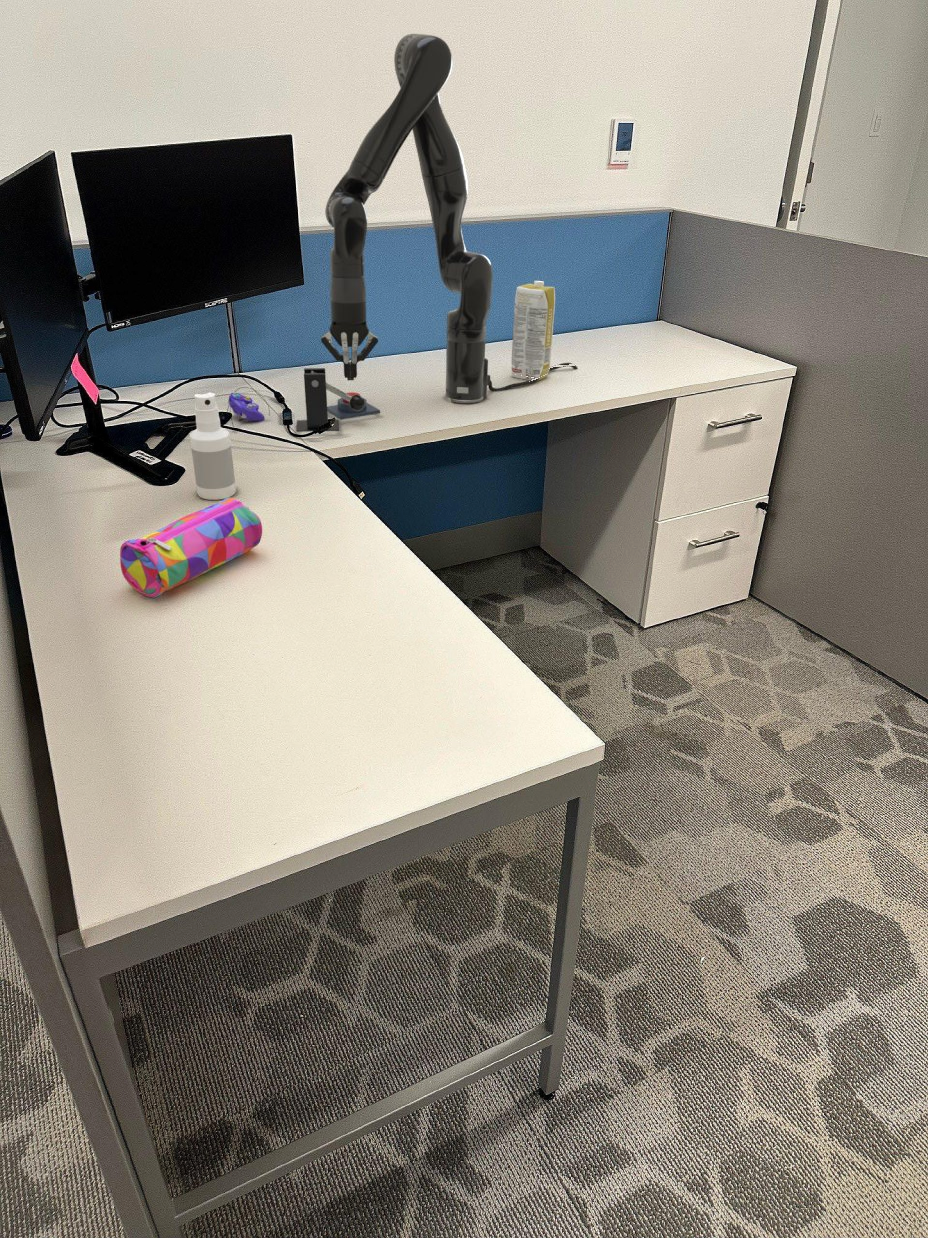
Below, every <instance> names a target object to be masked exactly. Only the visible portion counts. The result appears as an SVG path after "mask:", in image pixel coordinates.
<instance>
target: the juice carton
mask: <svg viewBox="0 0 928 1238" xmlns="http://www.w3.org/2000/svg"><path fill="white" fill-rule="evenodd" d="M544 285H545V281H541V280H533V284H532V283H526V284H522V285H519V286H516V291H515V296H514V307H513V309H514V310H513V327H512V345H511V346H512V347H511V361H510V362H511V376H512V377H513V378H516V379H520V380H525V381H529V380H532V379H535V378H538V379H539V380H538V381H537V382H539V381H542V380H544V379H546V378H548V376H549V373H550V371H549V368H550V367H551V361H552V360H551V359H552V347H553V346H552V345H553V334H554V322H555V308H556V288H555V287H554V286H544ZM548 372H549V373H548ZM547 373H548V374H547ZM515 374H516V375H515ZM545 374H547V375H545ZM521 375H522V376H521ZM543 375H545V376H543ZM526 376H528V377H526ZM541 376H542V377H541ZM531 377H534V378H531ZM539 377H540V378H539Z"/></svg>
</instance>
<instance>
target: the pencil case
mask: <svg viewBox="0 0 928 1238" xmlns="http://www.w3.org/2000/svg"><path fill="white" fill-rule="evenodd" d="M262 537H263V524H262V521H261V519H260V517H259V516H258V515H257V514H256V513H255V512H254V511H252V510H250V508H249V507H247V506H246V505H244V504H243V502H242V501H240V500H237V499H236V498H234V497H228V498H224V499H222V500H220V501H218V502H217V503H214V504H212V505H209V506H207V507H205V508H204V509H200V510H197V511H195V512H191V513H190V514H187V515H185V516H183V517H181V518H179V519H177V520H175V521H172V522H171V523H169V524H167V525H166V526H163V527H162V528H160V529H158V530H156V531H153V532H152V533H149V534H147V535H145V536H143V537H141V538H132V539H129V540H126V541H124V542H123V543H122V544H121V546H120V549H119V561H120V562H119V565H120V570H121V573H122V576H123V578H124V579H125V581H126V582H127V583H128V584H129V586H130V587H131V588H132V589H134V590H135V591H137V592H139V593H140V594H141V595H144V596H146V597H149V598H157V597H159V596H160V595H162V594H163V593H165V592H167V591H170V590H173V588H176V587H178V586H180V585H182V584H185V583H187V582H190V581H192V580H194V579H196V578H198V577H199V576H201V575H203V574H205V573H207V572H209V571H211V570H214V569H216V568H217V567H219V566H221V565H225V564H226V563H228V562H230V561H232V560H233V559H235V558H238V557H241V556H242V555H244V554H246V553H248V552H249V551H251V550H253V549H254V548H255V547H257V546H258V545H259V544H260V543H261V540H262Z"/></svg>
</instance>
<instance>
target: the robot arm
mask: <svg viewBox="0 0 928 1238" xmlns="http://www.w3.org/2000/svg"><path fill="white" fill-rule="evenodd" d="M393 56H394V57H393V63H394V71H395V76H396V79H397V81H398V86H399V88H400V89H399V90H398V92H397V94H396V96H395V97H394V99H393V100H392V102H391V103H390V104H389V106H388V108H386V109H385V111H384V112H383V114H382V115H381V116H380V117H379V119H377V120H376V122H375V123H374V124H373V125H372V127H370V129H369V130H368V131H367V133H366V134H365V136H364V138H363V139H362V141H361V143H360V144H359V147H358V148H357V151H356V152H355V155H354V157H353V158H352V160H351V163H350V165H349V168H348V169H347V171H346V172H345V174H343V176H342V177H341V179H339V181H338V183H337V184H336V186H335V187H334V189H333V190H332V192H331V194H330V195H329V197H328V199H327V202H326V205H325V208H324V209H325V210H324V211H325V212H324V214H325V218H326V221H327V223H328V224H329V225H330V226H331V227H332V228H333V247H331V249H330V256H329V261H330V263H329V264H330V282H329V283H330V284H329V296H330V317H331V318H330V319H331V320H330V321H331V324H330V325H329V328H328V329H329V331H328V332H326V333H325V334H323V335H321V336H320V342H321V343H322V344H323V346H324V347H325V348H326V349H327V351H328V352H329V353H330V354H331V356H332V357H333V358H334V359H335V360H336V361H338V362H341V363H342V364H343V376H344V378H345V379H347V381H355V379H356V378H357V377H358V364H359V362H364V361H365V360H366V359H367V358H368V356H369V355H370V354H371V352H372V351H373V349H374V348H375V347H376V345H377V344H378V343H379V337H378V336H377V335H375V334H373V333H372V332H370V328H369V326H368V324H367V287H366V279H365V257H364V253H365V247H366V239H367V231H368V214H367V210H366V206H365V204H366V202H367V201H368V199H369V198H370V196H371V195H372V194H373V193H376V192H377V191H378V190H379V189H380V187H381V186H382V184H383V182H384V180H385V179H386V176H387V175H388V172H389V170H390V169H391V167H392V165H393V163H394V161H395V159H396V157H397V156H398V153H400V150H401V148H402V147H403V145H404V144H405V142H406V141H407V138H408V136H409V135H410V133H411V132H412V135H413V139H414V144H415V148H416V152H417V157H418V162H419V167H420V173H421V178H422V183H423V186H424V190H425V195H426V199H427V203H428V207H429V211H430V217H431V221H432V226H433V232H434V238H435V245H436V253H437V261H438V269H439V275H440V279H441V282H442V284H443V286H444V287H445V289H446V290H448V291H449V292H452V293H454V294H458V295H460V301H459V306H458V308H456V309H452V310H450V311H449V312H448V313H447V315H446V350H445V351H446V352H445V393H444V397H445V398H449V400H450V402H451V403H456V404H474V403H475V404H476V403H480V402H482V401H484V400H486V399H488V398H487V397H488V390H490V391H491V392H502V391H507V390H510V389H513V388H514V389H515V388H520V387H524V386H529V385H532V384H535V383H536V382H539V381H540V380H539V379H536V380H533V381H531V380H525V381H521V382H515V383H510V384H508V385H505V386H502V387H497V388H496V387H493V382H492V380H491V375H490V374H489V372H488V371H489V360H488V358H487V357H486V339H487V338H486V337H487V336H486V335H487V334H486V333H487V320H488V318H489V315H490V311H491V303H492V292H493V280H494V279H493V278H494V276H493V275H494V273H493V266H492V262H491V261H490V259H489V258H488V257H487V256H486V255H484V254H481V253H477V252H471V251H468V250H467V249H466V248H467V247H466V245H465V242H464V236H463V232H462V231H463V229H462V219H463V216H464V215H463V214H464V211H465V207H466V204H467V199H468V195H469V183H468V182H469V181H468V177H467V172H466V171H467V170H466V166H465V162H464V161H465V160H464V156H463V154H462V151H461V147H460V145H459V143H458V141H457V139H456V137H455V134H454V132H453V131H452V129H451V127H450V125H449V123H448V121H447V119H446V117H445V113H444V110H443V107H442V104H441V99H440V94H439V92H441V90H442V88H443V87H444V86H445V84H446V83H447V81H448V79H449V77H450V76H451V72H452V68H453V56H452V52H451V49H450V47H449V45H448V43H447V42H446V41H445V40H444V39H443V38H441V37H439V36H436V35H432V34H423V33H409V34H406V35H404V36H403V37H401V39H399V41H398V42H397V45H396V47H395V51H394V55H393ZM333 339H334V341H335V342H336V343H337V344H338V345H339V346H340V347H341V349H342V353H341V352H339V350H338V349H337V348H336V346H335V345H334V344H333ZM365 339H366V345H364V347H363V348H362V349H361V351H360V353H358V352H359V351H358V349H359V347H360V346H361V345H362V344H363V342H364V341H365ZM349 348H350V351H351V352H350V353H349ZM349 355H350V356H349ZM569 364H573V363H572V362H563V363H559V364H558V365H569ZM574 365H575V364H574ZM552 367H553V366H552ZM564 367H566V366H563V367H553V368H550V369H549V372H550V371H555V370H558V369H560V368H564ZM569 367H571V368H573V370H578V369H579V368H578V366H576V365H575V366H569ZM538 380H539V381H538ZM529 381H530V382H529Z"/></svg>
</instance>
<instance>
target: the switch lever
mask: <svg viewBox="0 0 928 1238" xmlns="http://www.w3.org/2000/svg"><path fill="white" fill-rule="evenodd" d="M311 373H316V372H314V371H311ZM326 391H328V392H330V393H332V394H334V395H336V396H337V397H340V398H343V399H345V400H347V401H349V405H350V407H351V409H353V410H355V411H360V410H362V409H363V408H364V406H365V400H364V399H365V397H363V396H361V394H360V395H353V396H352V397H351V396H350V395H348V394H346V393H347V392H345V391H342V390H341V389H338V388H336V387H335V386H333V385H331V384H330V383H328V382H326Z"/></svg>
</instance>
